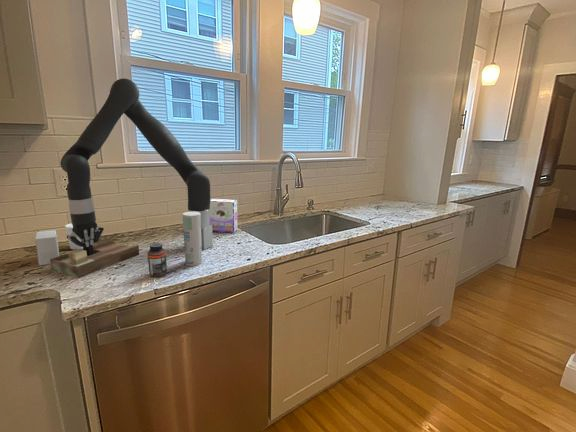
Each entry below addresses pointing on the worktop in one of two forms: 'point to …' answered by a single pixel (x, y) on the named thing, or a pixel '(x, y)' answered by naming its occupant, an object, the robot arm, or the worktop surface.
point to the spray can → (192, 238)
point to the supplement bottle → (157, 260)
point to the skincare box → (46, 246)
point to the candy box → (223, 215)
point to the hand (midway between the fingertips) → (89, 254)
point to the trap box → (95, 259)
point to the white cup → (69, 231)
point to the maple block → (77, 256)
